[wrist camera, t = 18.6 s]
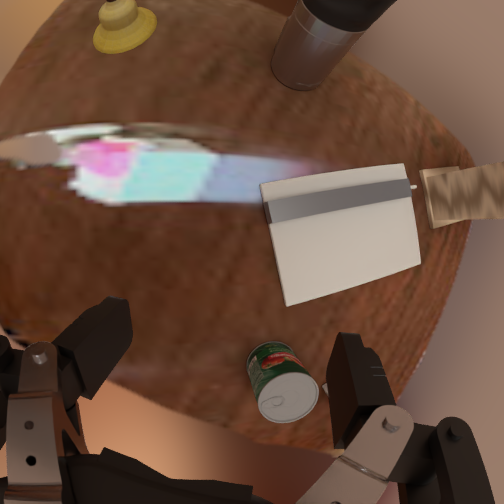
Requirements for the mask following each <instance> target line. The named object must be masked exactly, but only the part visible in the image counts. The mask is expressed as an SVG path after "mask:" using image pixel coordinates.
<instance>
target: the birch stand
mask: <svg viewBox="0 0 504 504" xmlns="http://www.w3.org/2000/svg"><path fill="white" fill-rule="evenodd" d="M419 173H420V177H421V181H422V186H423V191H424V196H425V201H426V207H427V213H428V219H429V225H430V229H434V228H438V227H441V226H444V225H448V224H451V223H455V222H458V221H461V220H465V219H504V162H499V163H494V164H489V165H484V166H479V167H473V168H468V169H464V170H459V166H455V167H444V168H434V169H424V170H419Z"/></svg>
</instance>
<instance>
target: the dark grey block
mask: <svg viewBox="0 0 504 504" xmlns="http://www.w3.org/2000/svg"><path fill="white" fill-rule="evenodd" d="M414 188H417V186H416V185H413V186H410V183H409V178H407V179H399V180H392V181H385V182H377V183H371V184H364V185H357V186H351V187H344V188H338V189H332V190H326V191H320V192H314V193H308V194H303V195H297V196H292V197H286V198H281V199H276V200H270V201H267V202H265V203H263V204H264V209H265V214H266V219H267V223H268V224H273V223H278V222H282V221H287V220H292V219H297V218H302V217H307V216H312V215H317V214H322V213H327V212H332V211H337V210H342V209H347V208H352V207H358V206H363V205H368V204H374V203H379V202H384V201H390V200H395V199H401V198H406V197H412V192H411V189H414Z"/></svg>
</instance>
